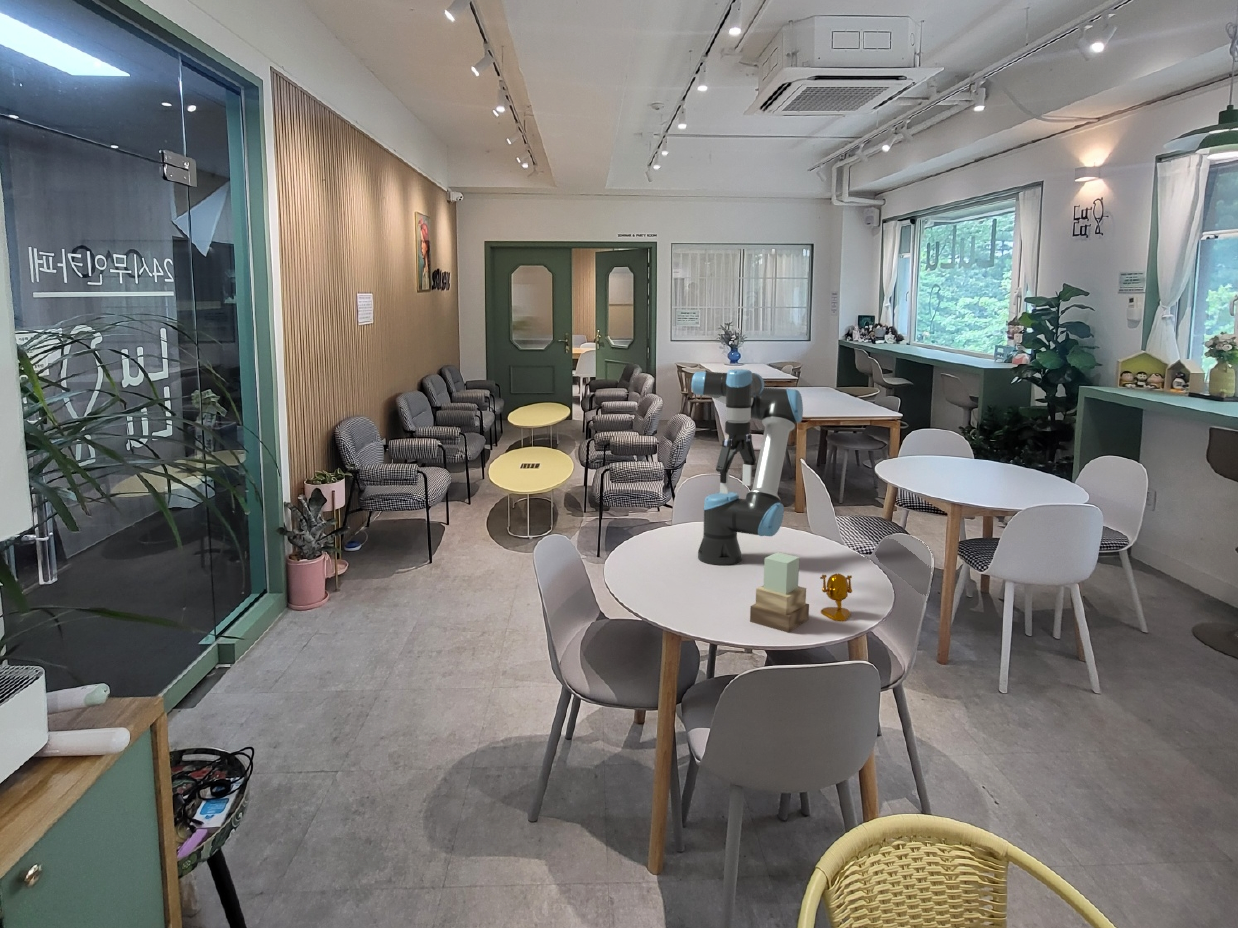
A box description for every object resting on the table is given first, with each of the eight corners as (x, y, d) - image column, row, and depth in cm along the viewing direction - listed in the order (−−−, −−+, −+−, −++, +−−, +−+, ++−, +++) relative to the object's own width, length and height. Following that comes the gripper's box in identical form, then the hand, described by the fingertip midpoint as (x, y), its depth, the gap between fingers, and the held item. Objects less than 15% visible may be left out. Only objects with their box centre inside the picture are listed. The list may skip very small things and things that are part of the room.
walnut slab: (770, 610, 239) (771, 594, 238) (808, 620, 231) (809, 604, 230) (749, 622, 230) (750, 606, 229) (788, 633, 222) (789, 616, 221)
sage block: (775, 582, 233) (777, 552, 232) (798, 587, 229) (799, 557, 227) (763, 588, 228) (764, 558, 226) (785, 594, 224) (787, 563, 222)
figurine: (847, 607, 240) (849, 568, 238) (855, 621, 230) (858, 581, 227) (817, 606, 241) (820, 568, 238) (824, 620, 230) (827, 580, 228)
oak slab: (775, 596, 236) (775, 579, 235) (805, 605, 230) (806, 588, 229) (755, 605, 229) (756, 588, 228) (786, 614, 223) (786, 597, 222)
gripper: (747, 415, 258) (744, 480, 263) (705, 424, 239) (703, 494, 243) (768, 417, 254) (765, 483, 258) (727, 427, 235) (725, 498, 239)
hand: (735, 489), depth 251 cm, fingers open, 13 cm apart
